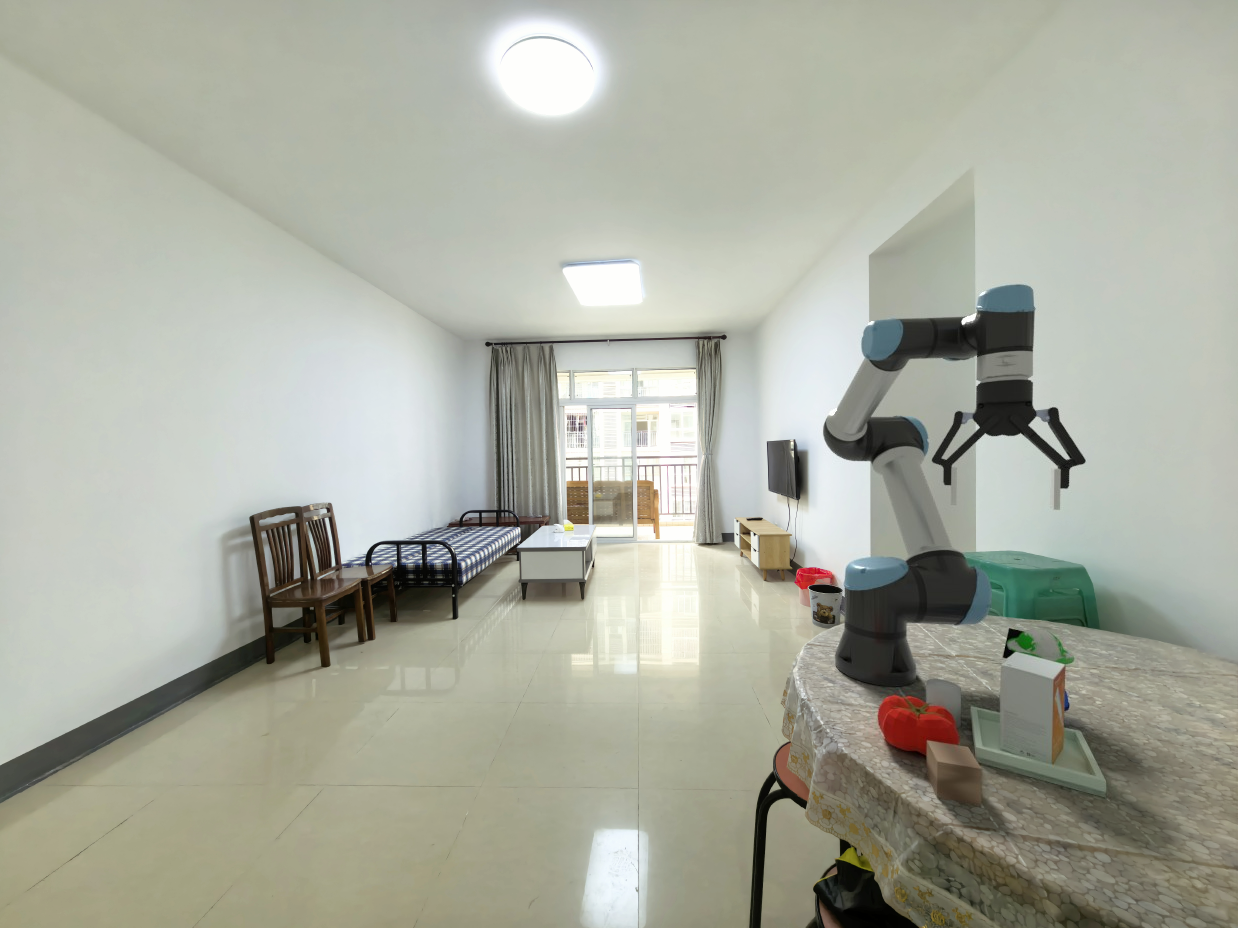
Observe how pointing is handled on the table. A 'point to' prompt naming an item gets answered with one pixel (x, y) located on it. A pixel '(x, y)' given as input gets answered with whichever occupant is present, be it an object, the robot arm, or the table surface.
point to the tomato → (915, 723)
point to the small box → (1032, 707)
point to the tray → (1068, 769)
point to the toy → (1038, 648)
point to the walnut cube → (954, 773)
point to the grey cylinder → (945, 697)
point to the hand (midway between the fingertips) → (1001, 506)
